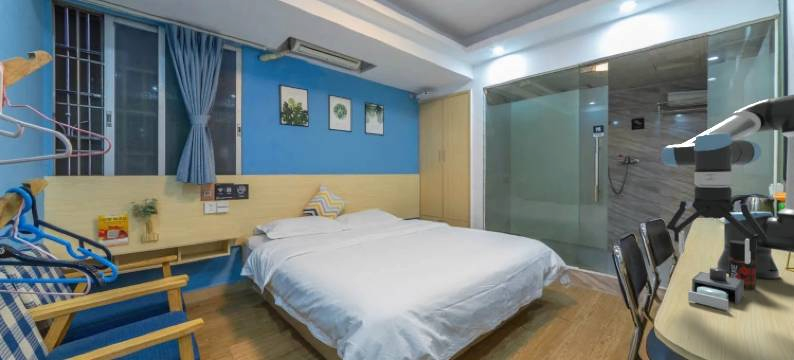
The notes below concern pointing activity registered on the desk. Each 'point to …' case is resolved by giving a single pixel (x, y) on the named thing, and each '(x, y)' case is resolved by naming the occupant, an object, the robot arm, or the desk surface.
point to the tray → (709, 300)
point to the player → (719, 282)
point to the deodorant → (742, 265)
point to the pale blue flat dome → (711, 292)
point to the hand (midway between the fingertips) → (712, 257)
